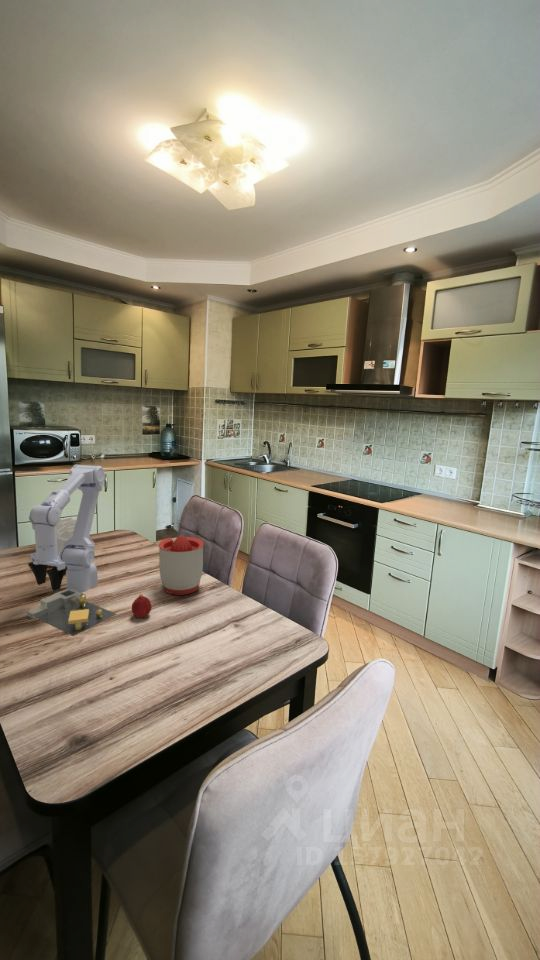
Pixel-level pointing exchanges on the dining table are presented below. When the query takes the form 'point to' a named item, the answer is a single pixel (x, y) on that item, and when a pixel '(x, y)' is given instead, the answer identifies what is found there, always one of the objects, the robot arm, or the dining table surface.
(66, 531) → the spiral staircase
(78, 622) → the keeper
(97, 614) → the post
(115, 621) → the dining table surface
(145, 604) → the onion
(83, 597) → the cylinder
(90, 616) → the plate
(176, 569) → the citrus juicer
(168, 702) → the dining table surface
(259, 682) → the dining table surface
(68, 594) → the link
